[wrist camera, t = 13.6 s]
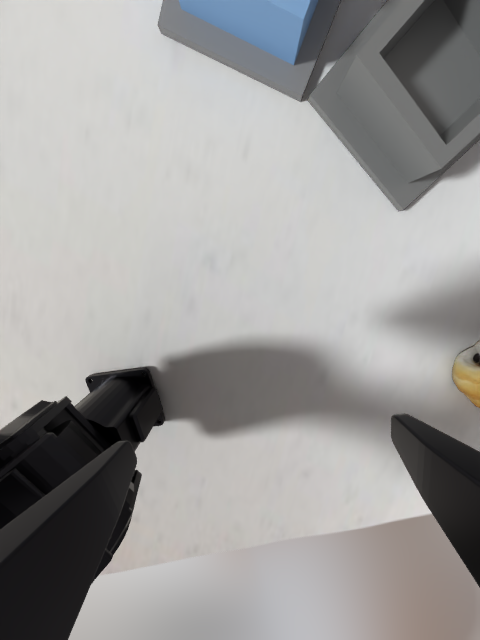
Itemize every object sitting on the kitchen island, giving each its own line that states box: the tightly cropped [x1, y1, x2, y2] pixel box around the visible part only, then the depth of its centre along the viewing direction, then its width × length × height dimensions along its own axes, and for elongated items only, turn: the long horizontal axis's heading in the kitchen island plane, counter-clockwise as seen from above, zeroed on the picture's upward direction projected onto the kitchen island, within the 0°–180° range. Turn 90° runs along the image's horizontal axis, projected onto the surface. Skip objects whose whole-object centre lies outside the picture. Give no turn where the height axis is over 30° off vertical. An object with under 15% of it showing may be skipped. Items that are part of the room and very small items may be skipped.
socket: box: [308, 0, 480, 211], centre depth 13 cm, size 10×10×4 cm
